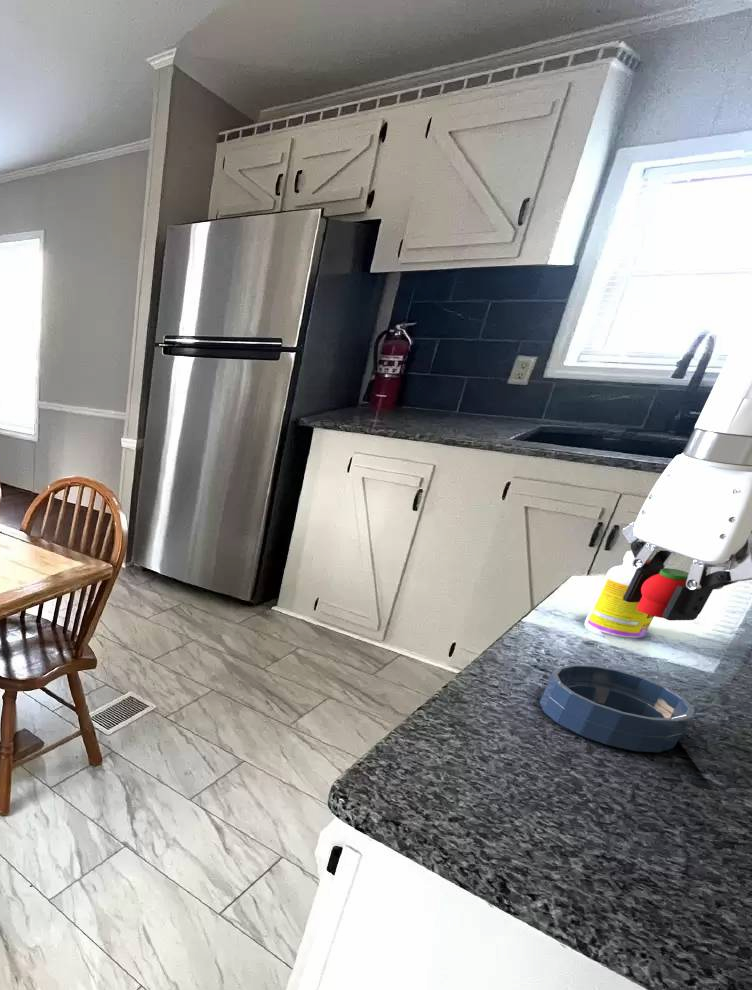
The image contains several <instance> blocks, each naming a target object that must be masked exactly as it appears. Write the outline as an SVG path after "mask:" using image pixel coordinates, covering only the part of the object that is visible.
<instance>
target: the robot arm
mask: <svg viewBox="0 0 752 990" xmlns="http://www.w3.org/2000/svg"><path fill="white" fill-rule="evenodd" d="M621 535H622V536H623V538H624V539H625V540H626V542H627V543H628V545H630V551H631V550H632V553H633V555H634V558H635V559H634V560H633V563H632V564H633V567H635V568H637V570H636V572H635V574H634V576H633V578H632V580H631V582H630V584H629V586H628V589H627V591H626V593H625V595H624V597H623V600H625V601H627V602H640V600H641V598H642V593H641V587H642V585H643V583H644V582H645V581H646V580H647V579H648V578H650V577H651V576H653V575H656V574H659V572H660V570H661V569H663V568H664V567H665V566H666V565H667V564H668V563H669V561H670V560H671V561H672V559H673V558H674V556H675V555H680V556H682V557H685V558H688V559H691V564H690V566H689V571H688V573H689V574H688V577H687V581H686V586H678V587H677V588H676V589H675V591H674V593H673V595H672V597H671V599H670V601H669V603H668V605H667V607H666V609H665V611H664V613H663V615H662V616H663V618H662V619H664V620H666V621H695V620H696V619H697V618H698V616H699V615H700V614H701V612H702V611H703V609H704V607H705V606H706V603H707V602H708V600H709V598H710V596H711V594H712V592H713V590H721V589H723V588H724V587H727V586H728V585H732V584H735V583H738V582H747V581H752V323H750V324H748V325H746V327H744V328H743V329H742V330H741V332H740V333H739V334H738V335H737V337H736V339H735V341H734V343H733V345H732V346H731V349H730V351H729V353H728V355H727V358H726V360H725V362H724V364H723V365H722V368H721V370H720V372H719V374H718V376H717V379H716V381H715V383H714V385H713V387H712V389H711V391H710V392H709V395H708V398H707V399H706V402H705V404H704V406H703V408H702V410H701V412H700V414H699V416H698V419H697V420H696V423H695V425H694V427H693V429H692V432H691V433H690V436H689V438H688V440H687V441H686V444H685V446H684V448H683V451H682V453H681V454H677V455H676V456H675V457H674V458H673V459H672V460H671V461H670V463H669V464H668V465H667V466H666V468H665V469H664V471H662V474H661V475H660V476H659V478H658V479H657V480H656V482H655V484H654V485H653V487H652V489H651V491H650V492H649V494H648V496H647V497H646V499H645V501H644V503H643V505H642V507H641V508H640V511H639V513H638V515H637V517H636V519H635V520H634V521H633V522H632V523H630V524H629V525H627V526H626V527H624V528H623V529H622V531H621ZM732 561H733V562H736V567H735V568H731V565H732ZM709 568H710V569H709ZM708 570H709V573H708Z"/></svg>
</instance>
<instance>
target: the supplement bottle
mask: <svg viewBox="0 0 752 990" xmlns="http://www.w3.org/2000/svg"><path fill="white" fill-rule="evenodd" d="M622 559H623V563H622V565H621V564H620V565H616V566H613V567H611V568H610V569H608V571H607V573H606V575H605V577H604V579H603V582H602V583H601V586H600V588H599V590H598V593H597V595H596V597H595V599H594V601H593V603H592V605H591V607H590V609H589V612H588V614H587V616H586V619H585V621H584V626H585V629H587V630H588V631H589V632H591V633H593V634H595V635H597V636H600V637H603V638H605V636H604V633H605V634H608V635H612V636H617V637H623V638H634V639H635V638H636V639H637V638H642V637H644V636H645V634H647V631H648V630H649V627H650V625H651V623H652V622H653V620H654V617H655V616H651V615H648V614H645V613H642V612H640V611H639V610H638V609H637V606H638V604H639V602H627V601H625V600H623V597H624V595H625V593H626V591H627V589H628V586H629V584H630V582H631V580H632V578H633V576H634V574H635V572H636V570H637V568H635V567H633V564H632V563H633V560H634V559H635V558H634V555H633V553H632V550H631V549H630V550H628V551H626V553H625V555H624V557H623V558H622ZM671 562H672V559H671V560H670V561H669V563H668V564H667V565H666V566H665V567H664V568H663V569H665V568H668V569H669V567H670V565H671Z"/></svg>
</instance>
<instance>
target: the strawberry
mask: <svg viewBox="0 0 752 990" xmlns="http://www.w3.org/2000/svg"><path fill="white" fill-rule="evenodd" d="M688 574H689V572H687V571H683V570H681V569H677V568H676V569H675V568H669V567H668V568H665V569H661V570H660V572H659V574H656V575H653V576H651V577H650V578H648V579H647V580H646V581H645V582H644V583H643V585H642V587H641V593H642V598H641V600H640V602H639V604H638V606H637V609H638V610H639V611H640V612H642V613H645V614H648V615H651V616H654V617H655V618H660V619H664V618H663V616H662V615H663V613H664V611H665V609H666V607H667V605H668V603H669V601H670V599H671V597H672V595H673V593H674V591H675V589H676V588H677V587H678V586H686V581H687V577H688Z"/></svg>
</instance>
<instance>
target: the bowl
mask: <svg viewBox="0 0 752 990" xmlns="http://www.w3.org/2000/svg"><path fill="white" fill-rule="evenodd" d="M539 705H540V706H541V709H542V711H543V713H544V714H545V715H547V716H548V717H549V718H550V719H551V720H553V721H554V722H555V723H556V724H558V725H559V726H562V727H563V728H566V729H568V730H569V731H571V732H573V733H575V734H577V735H580V736H582V737H584V738H586V739H589V740H591V741H594V742H597V743H601V744H604V745H607V746H610V747H615V748H619V749H624V750H628V751H632V752H645V753H662V752H665V751H669V750H670V751H671V750H674V748H675V747H676V745H677V743H678V742H679V740H680V739H681V736H682V735H683V733H684V731H685V730H686V728H687V726H688V725H689V723H690V721H691V720H692V718H693V715H694V713H695V708H694V707H693V705H692V704H691V703H690V701H689V700H688V699H687V698H686V697H684V696H682V695H681V694H679V693H677V692H676V691H675V690H673V689H671V688H670V687H668V686H665V685H663V684H661V683H658V682H656V681H653V680H651V679H650V678H647V677H644V676H640V675H638V674H633V673H630V672H627V671H624V670H620V669H615V668H610V667H605V666H601V665H600V666H599V665H594V664H576V663H575V664H574V663H572V664H566V665H560V666H557V667H556V668H555V669H554V671H553V672H552V673H551V676H550V678H549V680H548V682H547V684H546V686H545V688H544V691H543V693H542V695H541V698H540V700H539Z"/></svg>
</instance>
